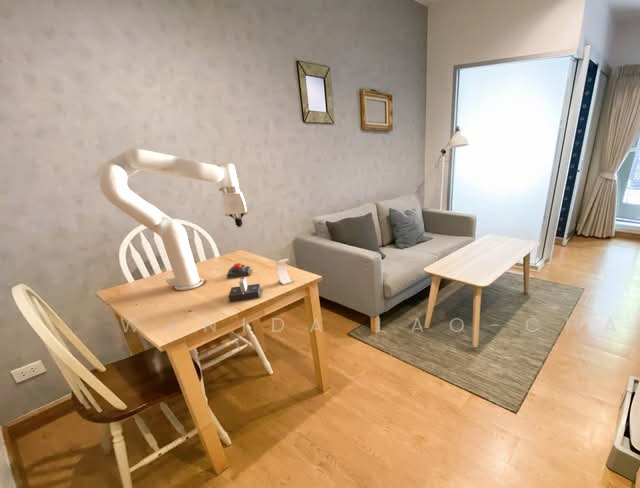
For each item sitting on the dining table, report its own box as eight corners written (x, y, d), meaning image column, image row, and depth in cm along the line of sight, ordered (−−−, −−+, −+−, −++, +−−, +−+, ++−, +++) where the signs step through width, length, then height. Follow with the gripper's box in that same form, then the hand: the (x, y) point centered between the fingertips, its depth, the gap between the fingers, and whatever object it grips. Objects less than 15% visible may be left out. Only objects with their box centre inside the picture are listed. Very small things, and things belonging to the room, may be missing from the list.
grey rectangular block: (245, 291, 146) (243, 281, 144) (241, 292, 145) (238, 282, 143) (247, 286, 151) (244, 276, 148) (243, 287, 150) (240, 277, 148)
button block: (228, 278, 167) (226, 271, 166) (230, 272, 174) (228, 265, 173) (249, 275, 170) (247, 268, 168) (250, 270, 177) (249, 263, 175)
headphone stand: (283, 284, 159) (278, 261, 154) (278, 280, 163) (273, 258, 158) (292, 282, 162) (288, 259, 156) (287, 278, 166) (283, 255, 161)
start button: (233, 269, 168) (232, 266, 168) (234, 266, 172) (234, 263, 171) (241, 268, 169) (240, 265, 169) (242, 266, 173) (241, 262, 172)
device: (229, 302, 144) (228, 296, 142) (233, 292, 152) (231, 286, 151) (259, 298, 147) (257, 291, 145) (260, 289, 155) (259, 283, 154)
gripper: (213, 192, 157) (222, 229, 165) (246, 190, 161) (254, 226, 169) (216, 189, 164) (225, 226, 171) (248, 187, 167) (255, 223, 175)
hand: (239, 226), depth 170 cm, fingers closed
